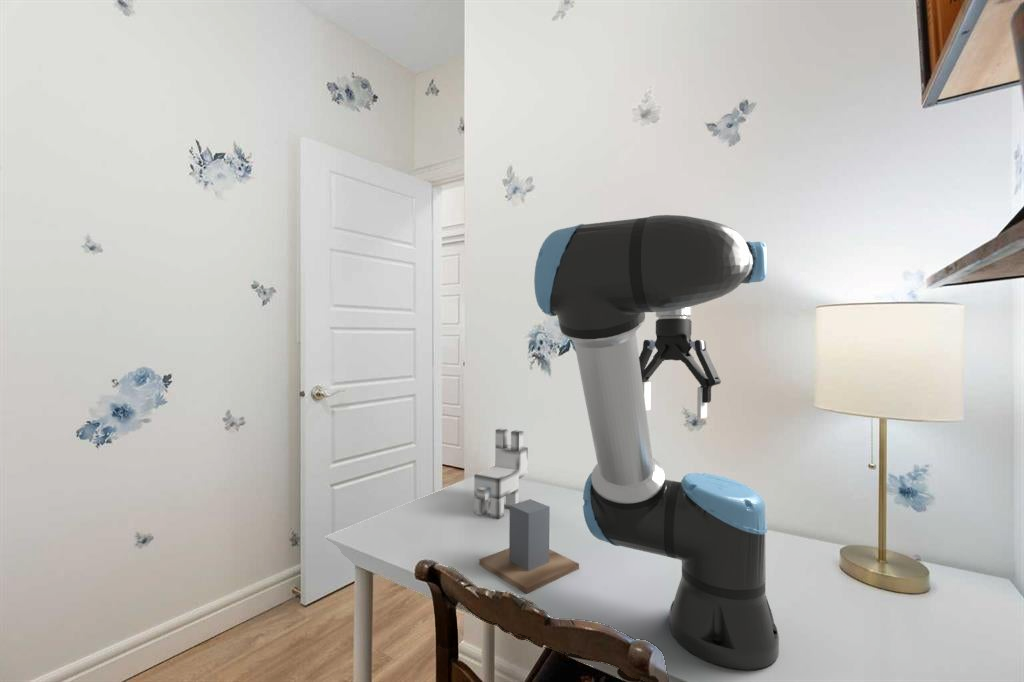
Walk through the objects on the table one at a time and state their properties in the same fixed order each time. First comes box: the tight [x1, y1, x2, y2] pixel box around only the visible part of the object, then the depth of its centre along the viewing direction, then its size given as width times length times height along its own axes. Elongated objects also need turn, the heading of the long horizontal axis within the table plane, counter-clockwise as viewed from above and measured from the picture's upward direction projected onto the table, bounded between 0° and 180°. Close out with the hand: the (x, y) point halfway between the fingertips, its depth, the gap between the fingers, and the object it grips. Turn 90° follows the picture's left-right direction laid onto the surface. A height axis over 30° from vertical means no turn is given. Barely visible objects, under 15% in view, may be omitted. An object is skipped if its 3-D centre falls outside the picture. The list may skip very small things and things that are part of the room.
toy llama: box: [473, 427, 529, 520], centre depth 123 cm, size 8×18×20 cm, turn 150°
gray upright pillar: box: [508, 499, 551, 571], centre depth 91 cm, size 6×6×11 cm
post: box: [478, 547, 580, 594], centre depth 91 cm, size 14×14×8 cm
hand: (672, 414), depth 103 cm, fingers open, 13 cm apart
